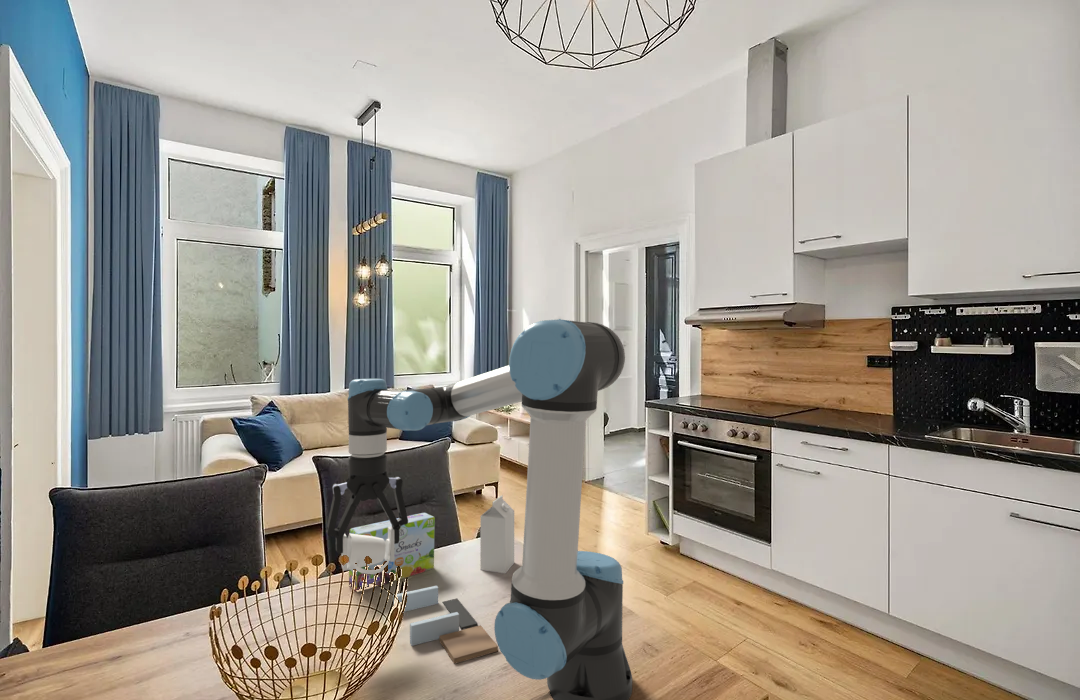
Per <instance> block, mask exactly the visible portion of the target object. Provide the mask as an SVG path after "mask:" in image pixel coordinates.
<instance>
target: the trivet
mask: <svg viewBox="0 0 1080 700" xmlns="http://www.w3.org/2000/svg"><path fill="white" fill-rule="evenodd" d="M438 640H439V643H440V644H441V646H442V647H443V649H444V651H445V652H446V653H447V655H448V656H449V658H450V659H451V661H452V663H453V665H455V664H458V663H462V662H465V661H468V660H472V659H476V658H480V657H483V656H486V655H489V654H492V653H496V652H498V651H499V646H498V644H497V642H496V641H494V639H493V638H492V637H491V635H489V634H488V632H487V631H486V630H485V629H484V627H483V626H482V625H481V624H480V625H478V626H474V627H470V628H466V629H459V631H457V632H453V633H449V634H445V635H441V636H439V639H438Z"/></svg>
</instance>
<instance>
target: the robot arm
mask: <svg viewBox="0 0 1080 700" xmlns="http://www.w3.org/2000/svg"><path fill="white" fill-rule="evenodd" d="M624 347H625V346H624V344H623V342H622V341H621V339H620V337H619V336H618V334H617V333H615V331H614V330H612V329H611V327H610V328H609V327H608V326H606V325H604V324H601V323H599V322H590V321H586V322H585V321H578V320H570V319H569V320H568V319H561V318H558V319H547V320H540V321H536V322H534V323H532V324H530V325H528V326H527V327H526V328H524V330H523V331H522V332H521V333H519V334H518V336H517V337H516V339H515V340H514V343H513V345H512V347H511V350H510V354H509V359H508V360H509V361H508V365H505V366H502V367H499V368H496V369H493V370H490V371H486V372H484V373H481V374H477V375H476V376H471V377H470V378H466V379H464V380H460V381H458V382H454V383H451V384H448V385H445V386H437V387H427V388H414V389H413V388H412V389H402V390H401V389H399V390H398V389H397V390H396V389H388V385H387V381H386V380H385V379H384V378H356V379H352V380H351V381H350V382H349V384H348V397H347V413H348V414H347V415H348V416H347V418H348V424H347V425H348V453H349V454H350V455H349V456H348V475H347V476H348V477H347V479H346V481H345V482H342V483H333V484H332V486H331V489H332V494H333V496H332V498H331V499H332V500H331V504H330V509H329V513H328V519H327V524H326V528H325V531H326V534H327V536H328V537H334V538H335V551H336V553H337V554H338V555H339V554H340V555H341V556H343V555H347V538H348V536H347V535H346V530H347V529H348V526H349V525H350V522H351V521H352V518H353V515H354V514H355V512H356V509H357V507H358V506H359V504H360V503H361V502H363V501H368V500H378V502H379V503H380V506H381V507H382V509H383V511H384V514H385V515H386V517H387V518H388V520H389V521H390V522H391V524H392V527H391V526H390V527H388V539H389V541H390V545H391V551H390V561H391V562H394V544H397V543H399V529H400V528H401V526H402V525H406V524H407V523H408V518H407V516H408V514H407V508H406V505H405V500H404V496H403V491H402V490H403V489H402V488H403V479H402V478H401V477H399V476H395V477H389V476H388V455H387V454H386V452H387V450H388V446H387V445H388V443H387V442H388V441H387V437H388V435H387V431H388V430H387V429H395V430H399V431H400V430H402V432H403V431H405V432H409V431H413V432H414V431H416V432H417V431H421V430H422V429H424V428H425V427H426V426H430V425H435V424H440V423H449V422H458V421H459V422H460V421H463V420H465V419H468V418H469V417H471V416H475V415H477V414H481V413H485V412H488V411H489V412H490V411H493V410H495V409H496V410H497V409H499V408H500V409H501V408H503V407H507V406H511V405H514V404H518V403H521V407H522V408H523V409H524V411H525V412H526V413H527V414H528V415H529V417H530V418H529V419H530V422H529V441H528V457H527V472H526V473H527V476H526V490H525V491H526V493H525V494H526V495H525V511H524V512H525V513H524V514H525V515H524V527H523V528H524V530H523V545H522V546H523V547H522V548H523V549H522V564H521V566H520V567H518V568H517V569H515V571H514V572H513V574H512V577H511V587H510V601H509V602H508V603H505V604H504V605H503V606H502V607H501V608H500V610H499V611H498V612H497V614H496V616H495V619H494V627H493V628H494V636H495V640H496V641H495V642H496V644H497V645H498V650H499V652H500V653H501V654H502V656H503V657H504V658H505V660H506V662H507V663H508V665H510V666H511V668H512V669H514V670H515V671H516V672H517V673H518V674H520V675H521V676H524V677H526V678H528V679H532V680H537V681H539V680H545V679H546V683H547V688H548V690H549V691H548V693H549V696H550V697H552V699H553V700H630V698H631V696H632V694H633V674H632V671H631V667H630V664H629V660H628V658H627V655H626V652H625V648H624V645H623V594H624V593H623V591H624V589H623V588H624V586H623V585H624V580H623V568H622V565H621V563H620V561H618V560H617V559H615V558H614V557H612V556H610V555H606V554H604V553H600V552H599V553H598V552H594V551H586V550H579V539H580V538H579V536H580V520H581V519H580V518H581V507H582V506H581V504H582V503H581V502H582V490H583V489H582V486H583V472H584V457H585V440H586V438H585V437H586V425H587V424H586V423H587V419H588V418H590V417H591V416H592V415H594V414H595V413H596V412H597V409H598V407H597V404H598V391H602V390H604V389H606V388H609V387H610V386H611V385H613V384H614V383H615V382H616V381H617V380H618V379H619V378H620V376H621V374H622V372H623V369H624V366H625V363H626V362H625V360H626V355H625V354H626V353H625V348H624ZM388 485H389V486H390V487H391V488H392V490H393V495H394V500H395V504H396V508H397V512H398V518H399V519H397V516H396V515H395V514H394V512H393V510H392V508H391V505H390V504H389V501H388V499H387V498H386V496H385V494H384V490H385V489H386V488H387V486H388ZM345 490H349V492H351V496H350V498H349V501H348V504H347V506H346V507H345V510H344V512H343V515H342V516H341V518H340V521H339V522H338V525H337V520H338V516H339V512H340V506H341V502H342V496H343V495H344V494H345V492H346V491H345ZM336 526H337V527H336ZM340 564H341V563H340ZM340 566H341V569H342V571H343V572H344V571H348V570H347V563H346V564H345V565H344V566H343V565H342V564H341V565H340Z"/></svg>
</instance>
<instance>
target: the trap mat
mask: <svg viewBox="0 0 1080 700" xmlns="http://www.w3.org/2000/svg"><path fill="white" fill-rule="evenodd" d="M442 604H443V606H444V607H445V608H446V610H447V611H448V614H450V613H455V612H458V614H459V629H460V630H464V629H468V628H472V627H476V626H479V624H478V622H477V621H476V619H475V618H474V617H473V616H472V614H471V613H470V612H469V611H468V610H467V608H466V607H465V606H464V605H463V603H461V601H460V599H458V598H454V599H449V600H448V599H447V600H444V601H442Z"/></svg>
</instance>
